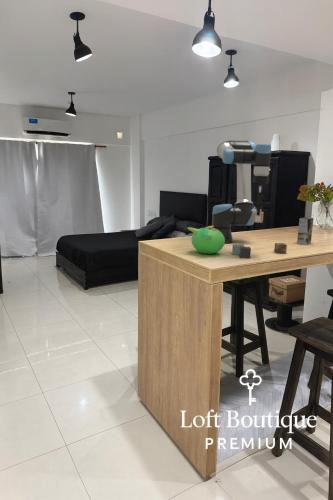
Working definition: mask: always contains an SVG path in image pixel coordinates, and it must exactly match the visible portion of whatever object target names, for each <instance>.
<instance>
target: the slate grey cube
mask: <svg viewBox="0 0 333 500" xmlns="http://www.w3.org/2000/svg"><path fill="white" fill-rule="evenodd" d="M240 247H245V244H243V243H234V244H232V248H231V250H232V251H231V255H237V256H240Z"/></svg>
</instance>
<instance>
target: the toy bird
mask: <svg viewBox="0 0 333 500" xmlns="http://www.w3.org/2000/svg"><path fill="white" fill-rule="evenodd" d="M212 227H213V226H212V225H209V226H205V227H204V226H203V227H201V228H194V227H187V228H186V229H187V230H188V231H190V232H192V235H191V244H192V246H193V248H194V249H195V250H196V251H198V252H199V253H201V254H205V255H213V254H215V253H216V254H217V253H218V252H220V251H221V250H222V249H223V248H224V247H225V244H226V243H225V239H224V236H223V234H222V233H221V232H220V231H219V230H217V229H215V228H212Z"/></svg>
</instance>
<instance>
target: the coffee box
mask: <svg viewBox="0 0 333 500" xmlns="http://www.w3.org/2000/svg"><path fill="white" fill-rule="evenodd" d="M314 219H315V218H313V217H300V218H299V222H298V230H297V231H298V232H297V241H296V244H297V245H304V246H308V245H310V244H311V243H312V235H313V227H314Z"/></svg>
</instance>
